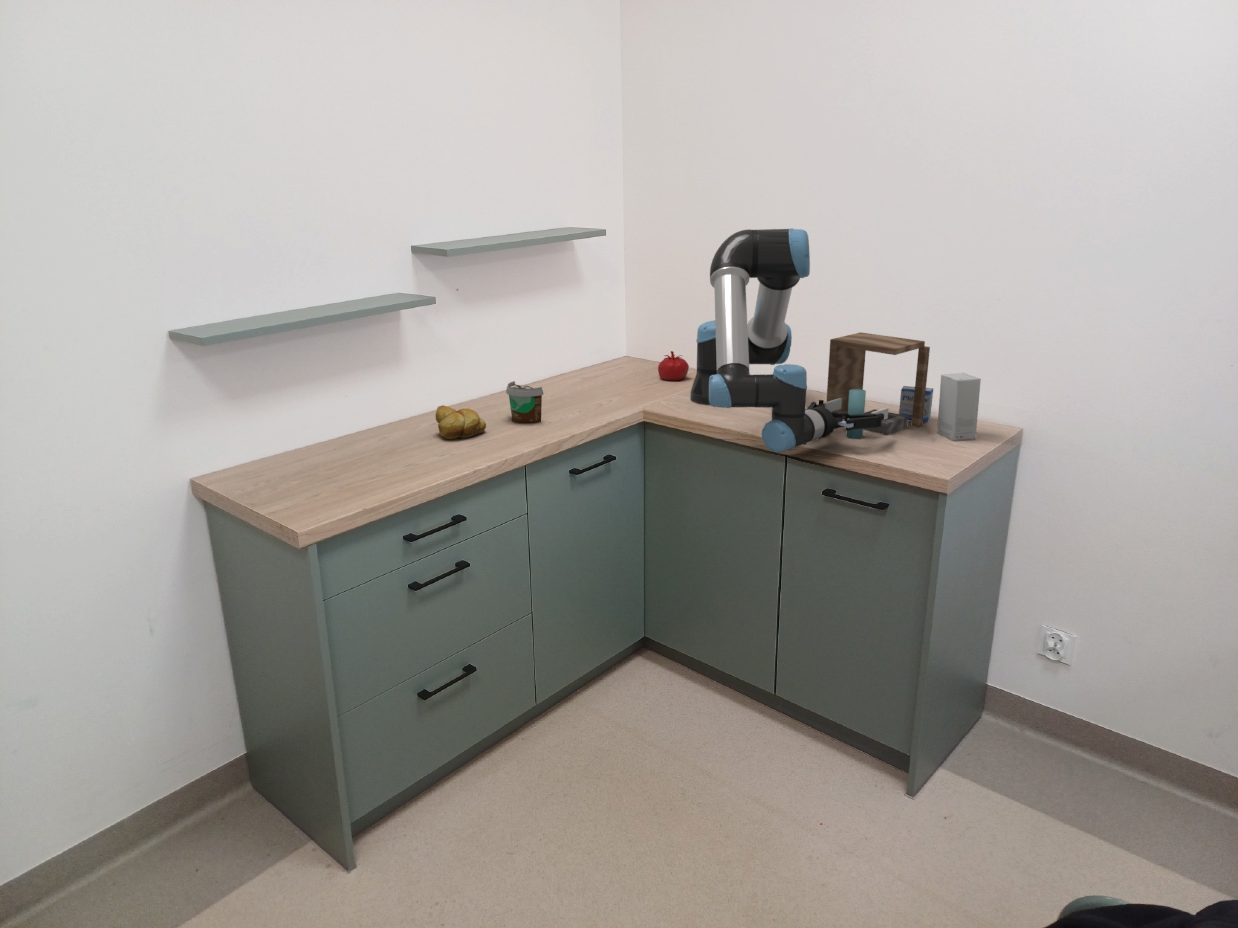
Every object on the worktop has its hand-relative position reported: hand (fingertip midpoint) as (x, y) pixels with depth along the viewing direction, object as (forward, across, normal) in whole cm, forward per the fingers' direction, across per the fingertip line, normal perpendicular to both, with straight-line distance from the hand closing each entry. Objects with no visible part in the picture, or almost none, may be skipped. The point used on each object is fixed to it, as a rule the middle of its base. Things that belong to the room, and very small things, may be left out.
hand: (863, 408), depth 221 cm
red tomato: (+11, -79, -7) cm, 80 cm away
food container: (-54, -73, -7) cm, 91 cm away
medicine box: (+22, +2, -7) cm, 24 cm away
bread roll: (-73, -73, -7) cm, 104 cm away
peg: (-3, 0, -7) cm, 8 cm away
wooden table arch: (+10, -3, -7) cm, 13 cm away
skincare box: (+15, +18, -7) cm, 24 cm away
